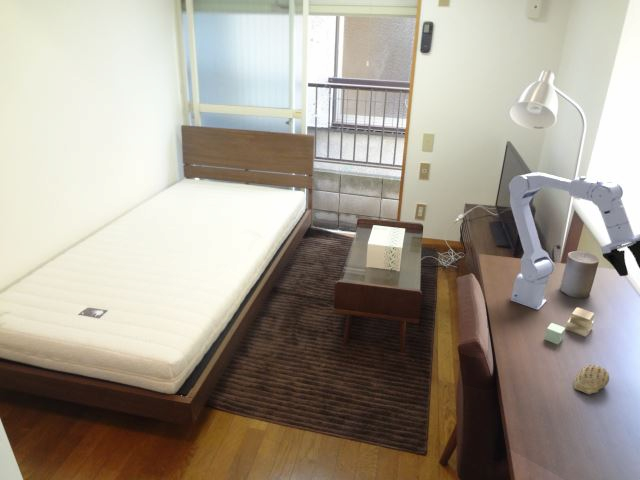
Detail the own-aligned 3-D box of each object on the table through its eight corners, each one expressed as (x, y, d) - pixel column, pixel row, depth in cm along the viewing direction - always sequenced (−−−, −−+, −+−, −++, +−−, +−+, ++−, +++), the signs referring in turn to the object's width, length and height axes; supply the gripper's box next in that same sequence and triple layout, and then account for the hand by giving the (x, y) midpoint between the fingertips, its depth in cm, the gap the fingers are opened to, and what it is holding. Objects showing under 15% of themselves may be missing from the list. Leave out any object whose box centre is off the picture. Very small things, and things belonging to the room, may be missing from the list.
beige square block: (569, 321, 149) (571, 313, 148) (574, 315, 153) (577, 307, 151) (587, 328, 146) (589, 319, 145) (592, 321, 150) (594, 313, 148)
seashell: (603, 407, 123) (607, 373, 129) (609, 397, 119) (613, 362, 125) (570, 397, 127) (575, 364, 132) (574, 387, 122) (579, 353, 128)
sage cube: (544, 339, 145) (547, 328, 144) (548, 333, 148) (551, 322, 146) (558, 344, 143) (561, 333, 141) (562, 339, 146) (565, 327, 144)
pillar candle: (591, 289, 173) (601, 251, 167) (588, 301, 166) (599, 262, 160) (561, 282, 178) (570, 245, 172) (557, 293, 170) (566, 255, 164)
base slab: (565, 329, 150) (567, 321, 149) (571, 322, 154) (573, 314, 153) (586, 337, 147) (588, 329, 146) (591, 329, 151) (593, 321, 150)
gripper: (610, 228, 129) (627, 277, 128) (649, 216, 133) (666, 263, 132) (589, 233, 136) (605, 279, 134) (627, 221, 140) (643, 266, 139)
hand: (634, 271), depth 134 cm, fingers open, 7 cm apart
